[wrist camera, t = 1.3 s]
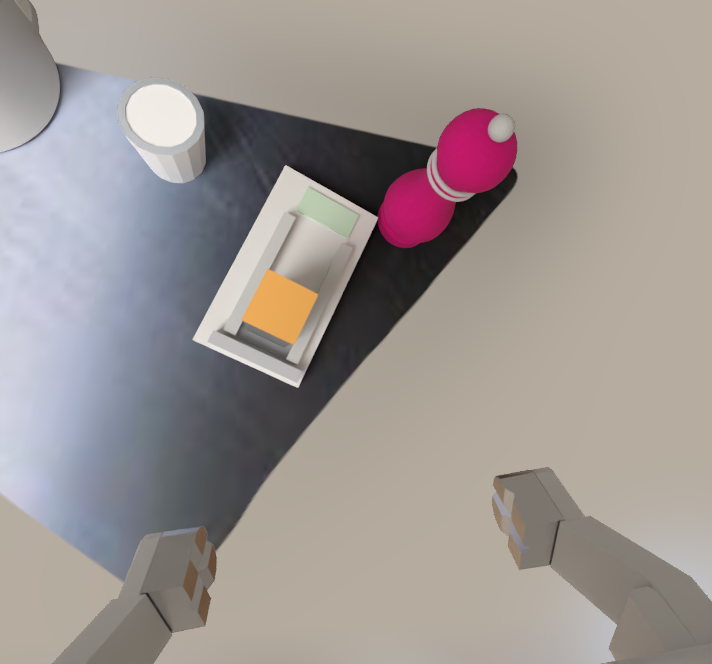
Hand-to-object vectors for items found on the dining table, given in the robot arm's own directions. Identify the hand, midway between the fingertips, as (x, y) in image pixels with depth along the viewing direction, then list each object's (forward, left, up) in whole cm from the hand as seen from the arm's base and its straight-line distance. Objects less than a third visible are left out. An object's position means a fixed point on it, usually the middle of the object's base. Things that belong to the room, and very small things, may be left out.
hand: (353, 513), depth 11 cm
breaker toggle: (-4, +7, -29) cm, 30 cm away
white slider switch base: (-5, +12, -31) cm, 34 cm away
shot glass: (-20, +18, -31) cm, 42 cm away
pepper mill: (+4, +24, -31) cm, 40 cm away
